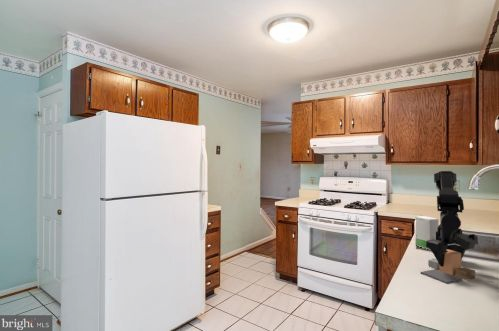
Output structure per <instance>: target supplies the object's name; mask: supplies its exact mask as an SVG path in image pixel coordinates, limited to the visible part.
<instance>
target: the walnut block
mask: <svg viewBox="0 0 499 331" xmlns="http://www.w3.org/2000/svg"><path fill="white" fill-rule="evenodd" d="M455 276H456V277H459V278H462V280H464V281H469V280H473V279H476V270H473V269H471V268H469V267H462V268H459V269H456V275H455Z"/></svg>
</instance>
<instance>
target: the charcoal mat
mask: <svg viewBox="0 0 499 331" xmlns="http://www.w3.org/2000/svg"><path fill="white" fill-rule="evenodd" d="M420 274H421V275H424V276H427V277H429V278H431V279H434V280H436V281H439V282H441V283H445V284H452V283H457V282H461V281H463V279H462V278H459V277H456V275H450V274H448V273H445V272H442V271H440V269H438V270H436V269H429V270H423V271H420Z"/></svg>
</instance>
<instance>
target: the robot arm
mask: <svg viewBox="0 0 499 331" xmlns="http://www.w3.org/2000/svg"><path fill="white" fill-rule="evenodd" d="M433 182H434V183H435V188H436V189H437V191H438V195H437V196H436V208H437V212H440V213H439V216H440V219H439V220H440V221H439V222H440V224H439V225H438V228H437V231H436V240H435V239H432V240H427V241H426V247H428V248H429V249H430V250H429V251H430V252H431V253H432V254H433V256H434V257H435V259H437V261H438V263H439V265H440V266H442V267H443V266H444V257H445V253H447V252H448V251H447V249H449V250H452V251H456V252H460V253H461V261H462V260H463V258H464V255H465V252H466V251H468V250H470V249H471V250H472V249H474V248H475V247H476V245H479V237H478V235H476V234H474V233H471V234H469V235H468V234H464V233H463V230H462V228H461V225H462V221H461V219H460V218H459V214H458V213H463V211H464V209H465V206H464V200H463V198H462V196H459V191H458V190H456V189H454V188H455V184H457V173H456V172H453V171H452V170H440V171H438V172H436V173H433Z"/></svg>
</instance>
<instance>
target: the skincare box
mask: <svg viewBox="0 0 499 331" xmlns="http://www.w3.org/2000/svg"><path fill="white" fill-rule="evenodd" d="M415 219H416V223H415V222H414V244H415V245H417V246H419V247H418V248H420V247H422V248H421V249H424V248H426V249H425V250H427V249H429V248H428V247H426V241H427V240H432V239H435V240H436V231H437V228H438V226H439V225H440V224H439V222H440V221H439V220H440V219H439V218H435V217H432V216H426V215H419V216H415ZM415 245H414V246H415ZM417 246H416V247H417Z"/></svg>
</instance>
